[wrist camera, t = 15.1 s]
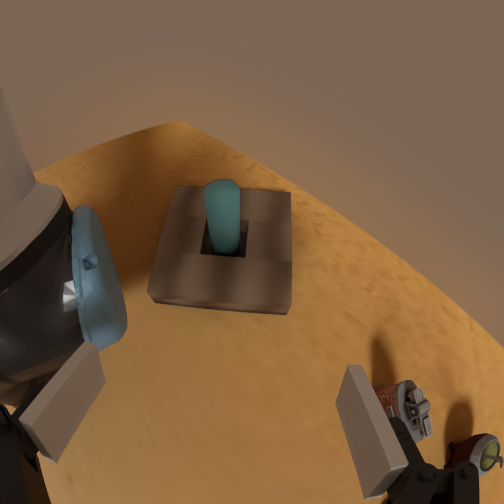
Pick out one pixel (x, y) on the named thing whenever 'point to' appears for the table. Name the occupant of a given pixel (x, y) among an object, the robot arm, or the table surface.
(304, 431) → the table surface
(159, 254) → the hole board
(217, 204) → the pin
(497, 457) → the mate gourd
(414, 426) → the lighter
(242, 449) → the table surface
